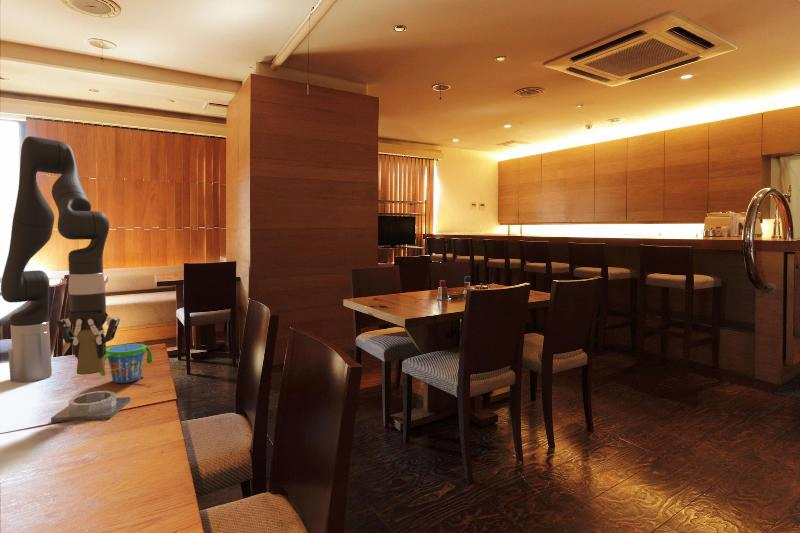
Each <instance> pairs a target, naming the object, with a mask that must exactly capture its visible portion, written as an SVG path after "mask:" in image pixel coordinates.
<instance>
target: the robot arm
mask: <svg viewBox="0 0 800 533" xmlns="http://www.w3.org/2000/svg"><path fill="white" fill-rule="evenodd" d="M20 148H21V150H20V160H19V176H18V186H17V187H18V190H17V196H16V201H15V207H14V213H13V216H12V222H11V223H12V224H11V230H10V231H11V232H10V243H9V248H8V254H7V258H6V262H5V266H4V269H3V272H2V277H1V281H0V294H1V297H2V299H3V300H4V301H5V302H7V303H24V302H30V304H29V305H28V306H27V307H26V308H24V309H22V310H20V311H18V312H15V313H13V314H12V315H11V316H10V319H9V323H10V337H11V339H10V340H11V349H9V350H8V366H9V378H10V382H17V383H26V382H27V383H28V382H35V381H40V380H44V379H47V378H49V377H51V376H52V375H53V370H52V354H51V353H52V352H51V337H50V336H51V335H50V334H51V333H50V319H49V315H50V281H49V277H48V275H47V273H46V272H44V270H25V269H26V267H27V265H28V263H29V262H30V261H31V259H32V258H33V257H34V256H35V255H36V254H38V253H39V251H41V249H42V248H43V247H45V246H46V244H48V242H49V241H50V239H51V238H52V236H53V229H54V224H55V214H54V211H53V209H52V207H51V206H50V204H49V203H48V201H47V200H46V198H45V196H44V195H43V194H42V192H41V190H40V188H39V186H38V185H39V184H38V182H37V173H39V172H41V173H47V174H54V175H60V176H59V177H58V178H57V179H56V180H55V182H54V183H53V184H52V187H51V196H52V199H53V201H54V204H55V206H56V208H57V210H58V219H57V232H58V233H59V235H61V236H62V237H63V238H64V239H67V240H74V241H75V240H90V242H89V244H88V245H87V246H85V247H83V248H78V249H73V250H71V251H70V252H69V253H68V258H67V259H68V290H67V291H68V302H69V312H70V314H69V315H68V317H67V318H62V319H60V320H58V321H57V322H56V325H57V328H58V329H59V331H60V334H61V336H62V338H63V340H64V343H65V344H71V345H73V346H74V357H75V358H76V360H78V354H79V345H80V342H79V341H78V340H77V334H78V333H79V331H81V330H83V329H91V331H92V332H93V333H94V335H95V336H97V339H96V342H97V344H98V345H96V350H97V355H98V358H99V359H101V358H103V357H104V356H105V355H106V349H107V346H106V344H107V342H110V341H112V340H114V338H115V336H116V333H117V330H118V327H119V323H120V321H121V320H120V318H119V317H111V316H109V314H108V313H107V311H106V310H107V303H106V302H107V300H106V281H105V277H104V266H103V265H104V264H103V262H104V261H103V257H104V250H105V246H106V241H107V238H108V235H109V231H110V220H109V218H108V217H107V215H106V214H105V213H104V212H103V211H97V210H95V211H94V210H92V204H91V201H90V200H89V197H88V195H87V194H86V191H85V190H84V188H83V186H82V183H81V178H80V174H79V169H78V166H77V160H76V157H75V154H74V151H73V149H72V148H71V146H70V145H69V144H68V143H66V142H64V141H61V140H54V139H49V138H44V137H37V136H31V135H29V136H27V137H25V138H24V140H23V142H22V145H21V147H20ZM105 323H106V325H107V327H108V328H107V331H105V328H104V324H105ZM72 325H73V327H74V328H75V329H74V332H73V330H72V327H71V326H72ZM99 329H100V330H101V331H100V332H99V331H98V330H99Z"/></svg>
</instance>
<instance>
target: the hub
mask: <svg viewBox="0 0 800 533" xmlns="http://www.w3.org/2000/svg"><path fill="white" fill-rule="evenodd" d="M131 401H132V400H131V397H130V396H126V397H125V396H124V397H117V394H116V392H115V391H110V390H97V391H92V392H91V391H90V392H86V393H85V392H84V393H82V394H81V393H80V394H79V395H76V396H73V397H72V398H70V399H68V405H67V406H66V407H65V408H64V409H62V410H60V411H59V412H57V413H56V414H54V415H52V417H50V422H51V423H58V422H59V423H60V422H61V423H62V422H75V421H91V420H92V421H93V420H95V421H96V420H110V419H112V418H113V417H114V416H116V414H118V413H119V411H121V410H122V409H123V408H124V407H125V406H127V404H128V403H130V402H131Z"/></svg>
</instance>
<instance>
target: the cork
mask: <svg viewBox="0 0 800 533" xmlns="http://www.w3.org/2000/svg"><path fill="white" fill-rule="evenodd" d="M98 331H99V332H100V331H101V330H100V329H99V330H98ZM96 339H97V336H95V335H94V333H93V332H92V331H91V329H83V330H81V331H79V333H78V334H77V340H78V341H79V342H80V345H79V354H78V359H77V365H76V366H77V367H76V374H77V375H82V376H83V375H84V376H85V375H94V374H98V373H99V372H102V371H104V370H106V365H105V366H104V361H103V358H101V359H99V358H98V355H97V350H96V345H98V344H97V342H96Z"/></svg>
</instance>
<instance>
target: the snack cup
mask: <svg viewBox="0 0 800 533" xmlns="http://www.w3.org/2000/svg"><path fill="white" fill-rule="evenodd" d="M146 352H147V354H146ZM145 354H146V355H147V356H146V363H147V364H150V365H151V364H152V363H153V353H152V351H151V348H150V347H149V346H147V345H145V344H142V343H127V344H118V345H114V346H110V347H108V348H106V355H105V356H104V357H103V361H104V366H105V367H106V365H105V364H106V362H105V361H106V360H107V359H108V363H109V364H108V365H109V369H110V374H111V379H112V381H113V382H114V383H116V384H126V383H132V382H135V381H137V380H141V377H142V374H143V367H144V356H145ZM105 370H106V369H105ZM105 370H104V371H102V372H98V373H99V375H100V376H102V377H105V376H106V371H105Z"/></svg>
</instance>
